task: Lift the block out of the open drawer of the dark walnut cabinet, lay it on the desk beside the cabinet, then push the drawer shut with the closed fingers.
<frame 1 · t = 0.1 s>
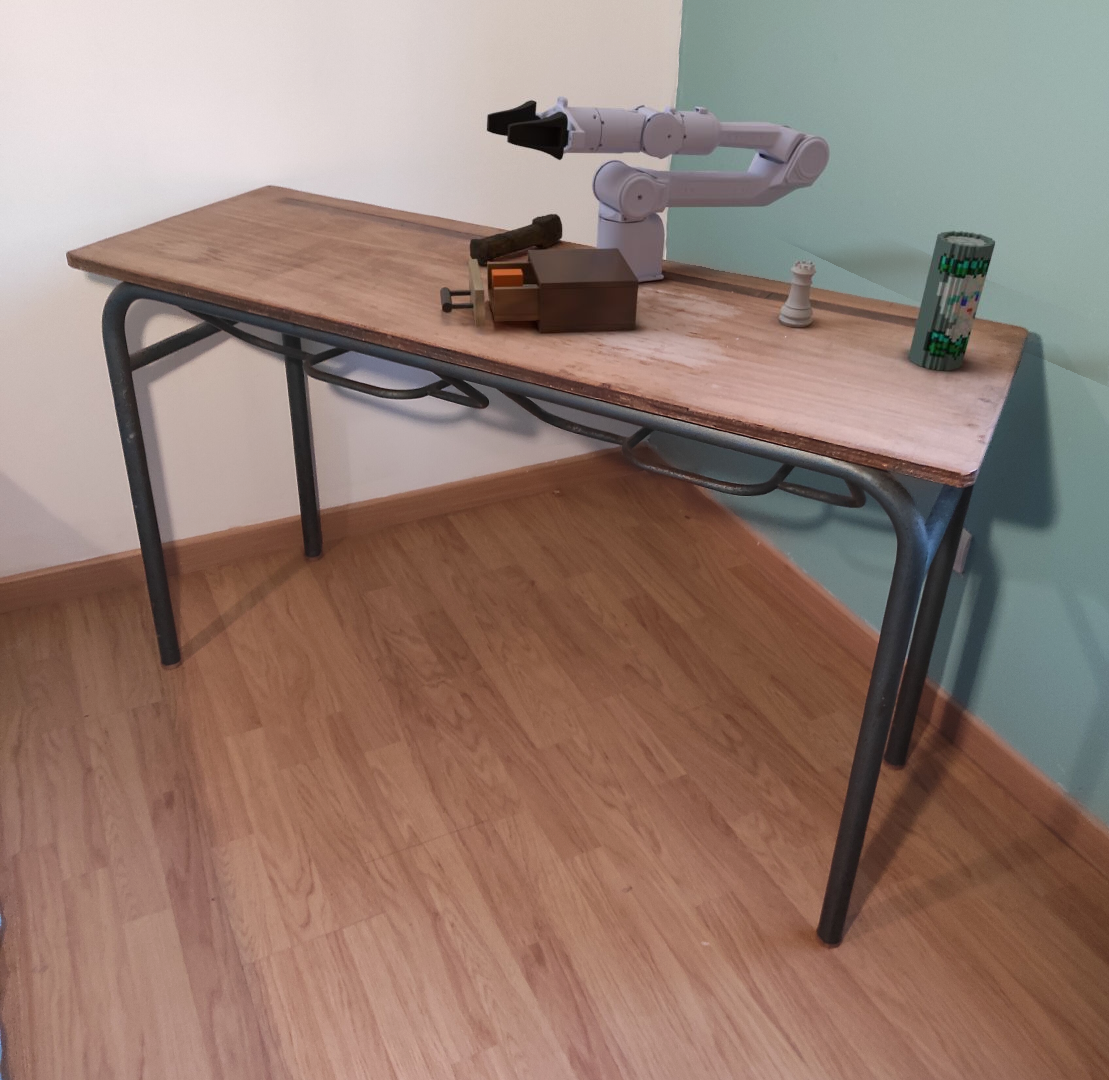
hand: (497, 128, 125), 22 cm above the table, tool horizontal, fingers open, 7 cm apart
rook chess piece: (794, 323, 129), on the table
block: (515, 294, 130), point 2 cm above the table, touching drawer
cabinet: (579, 312, 130), on the table
drawer: (499, 291, 127), point 3 cm above the table, slide at 7.0 cm, touching block
hand tool: (518, 252, 152), on the table
can: (934, 361, 119), on the table
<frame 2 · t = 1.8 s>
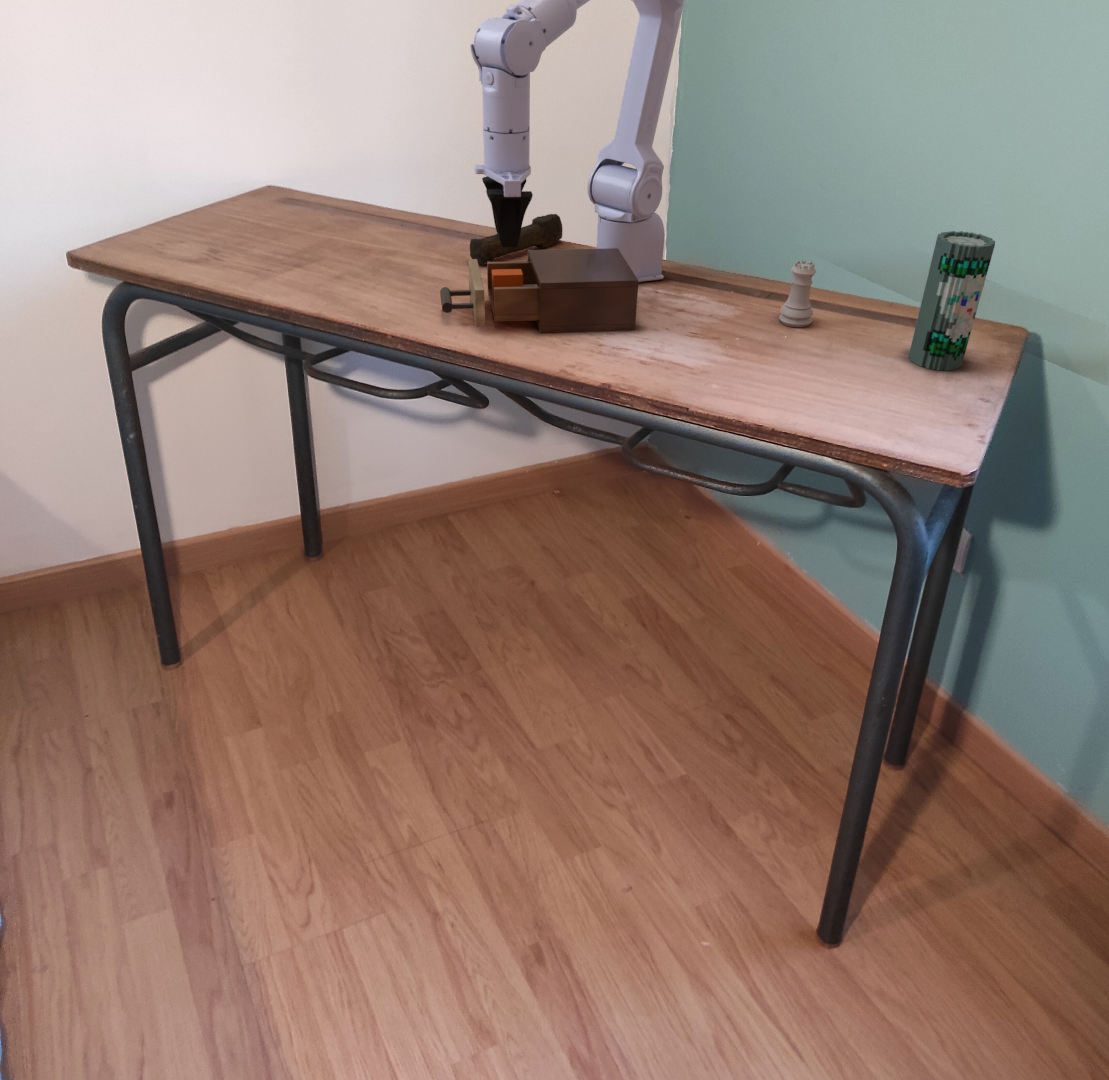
hand: (507, 240, 126), 9 cm above the table, tool pointing down, fingers open, 5 cm apart
nothing on the table moved.
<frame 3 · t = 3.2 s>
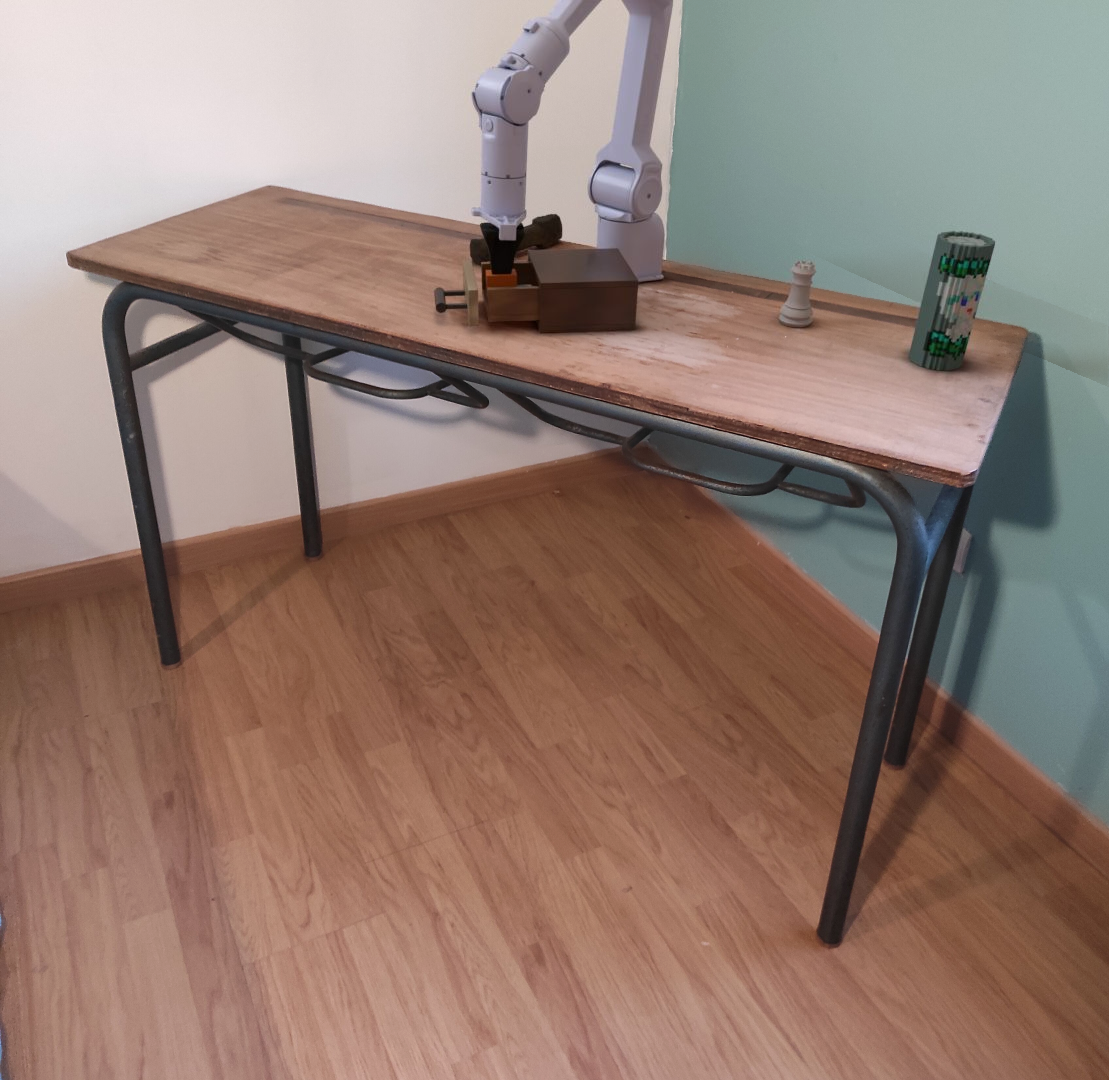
hand: (500, 280, 128), 4 cm above the table, tool pointing down, fingers closed, pressing on block
block: (509, 295, 130), point 2 cm above the table, touching drawer, gripper
drawer: (493, 291, 127), point 3 cm above the table, slide at 7.8 cm, touching block
everything else where it was.
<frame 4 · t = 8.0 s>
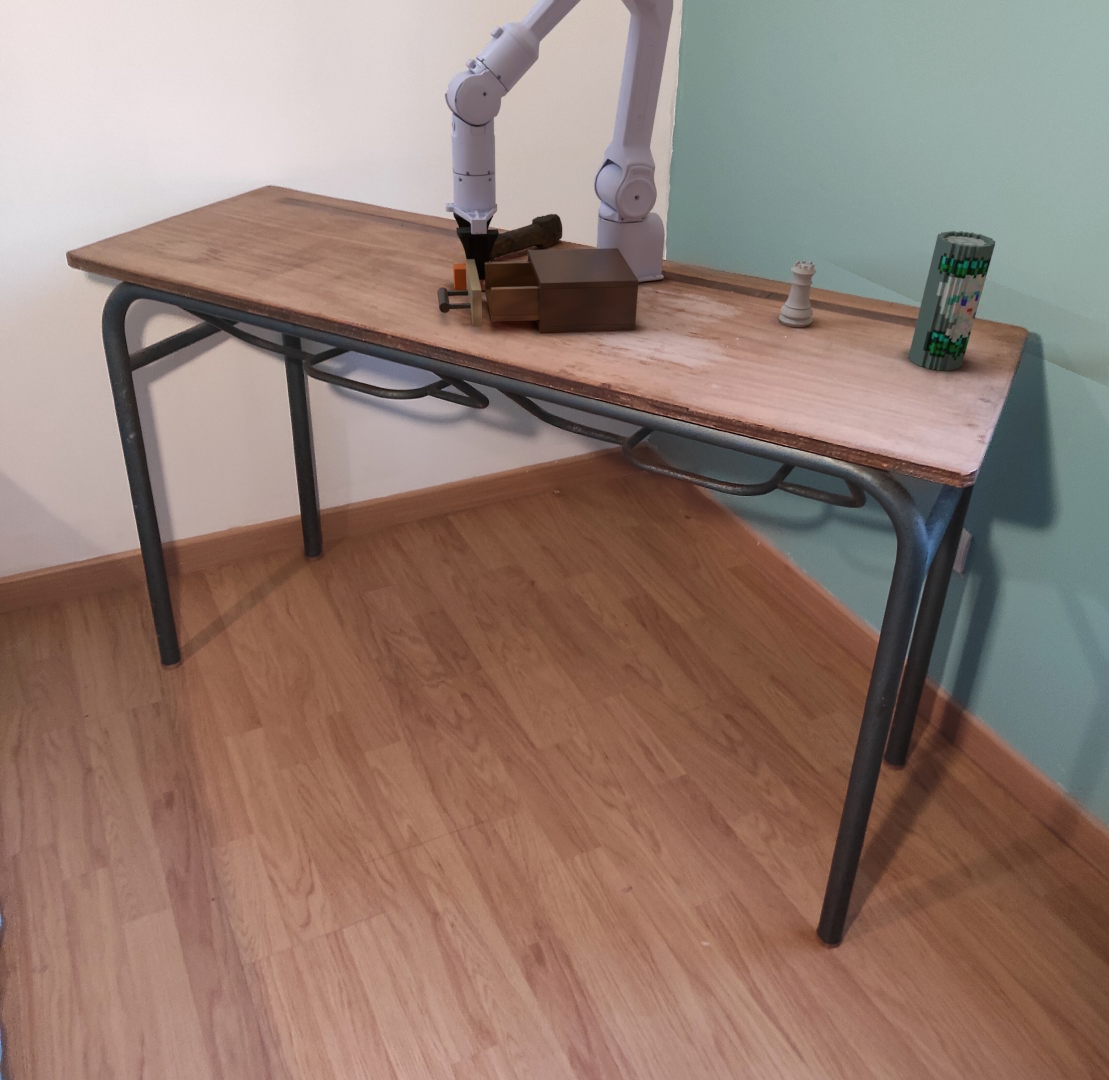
hand: (476, 270, 136), 2 cm above the table, tool pointing down, fingers open, 6 cm apart
block: (476, 287, 138), on the table
drawer: (497, 291, 127), point 3 cm above the table, slide at 7.4 cm, touching gripper
everything else where it was.
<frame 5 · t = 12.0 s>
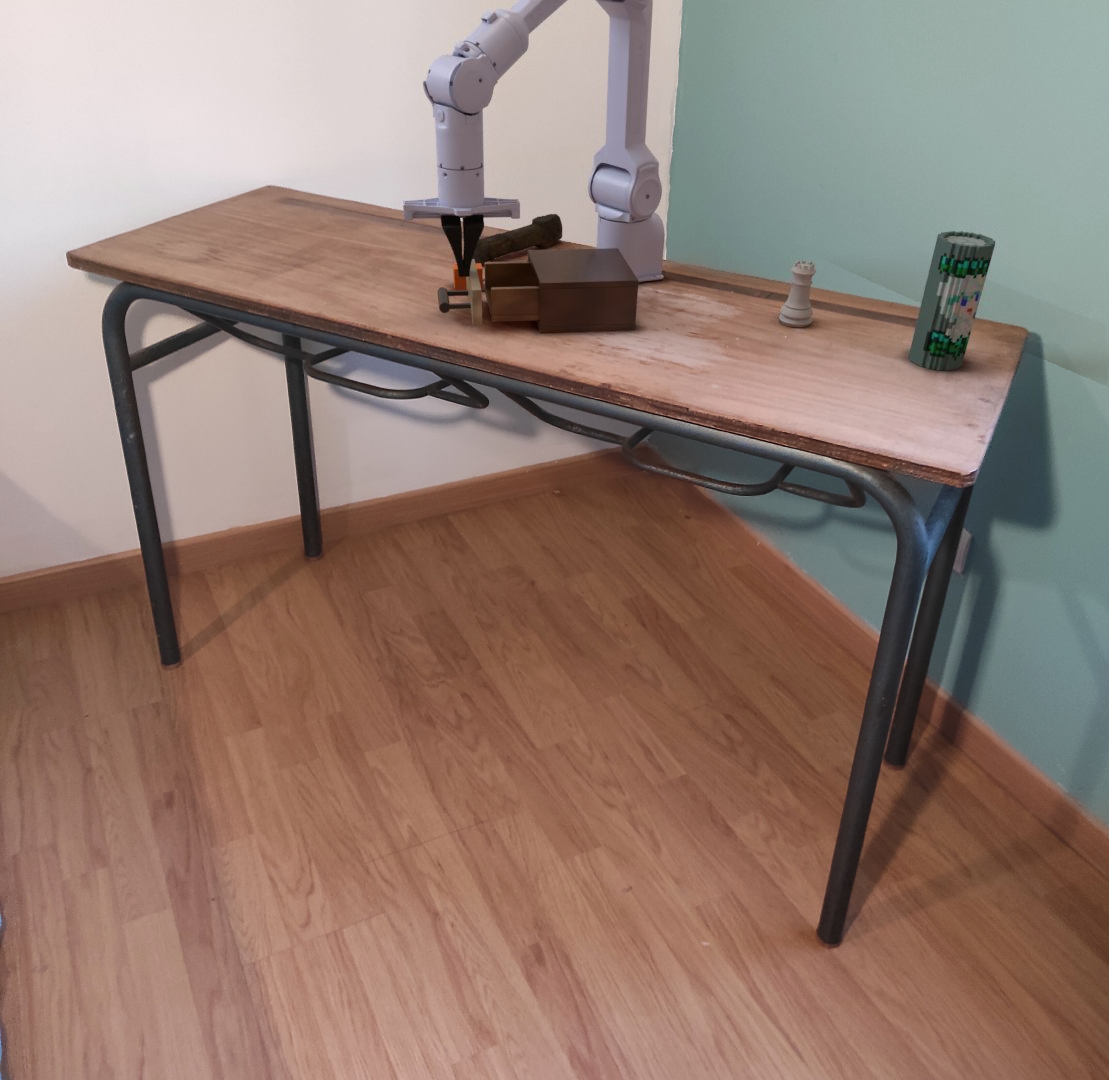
hand: (463, 274, 125), 6 cm above the table, tool pointing down, fingers closed
nothing on the table moved.
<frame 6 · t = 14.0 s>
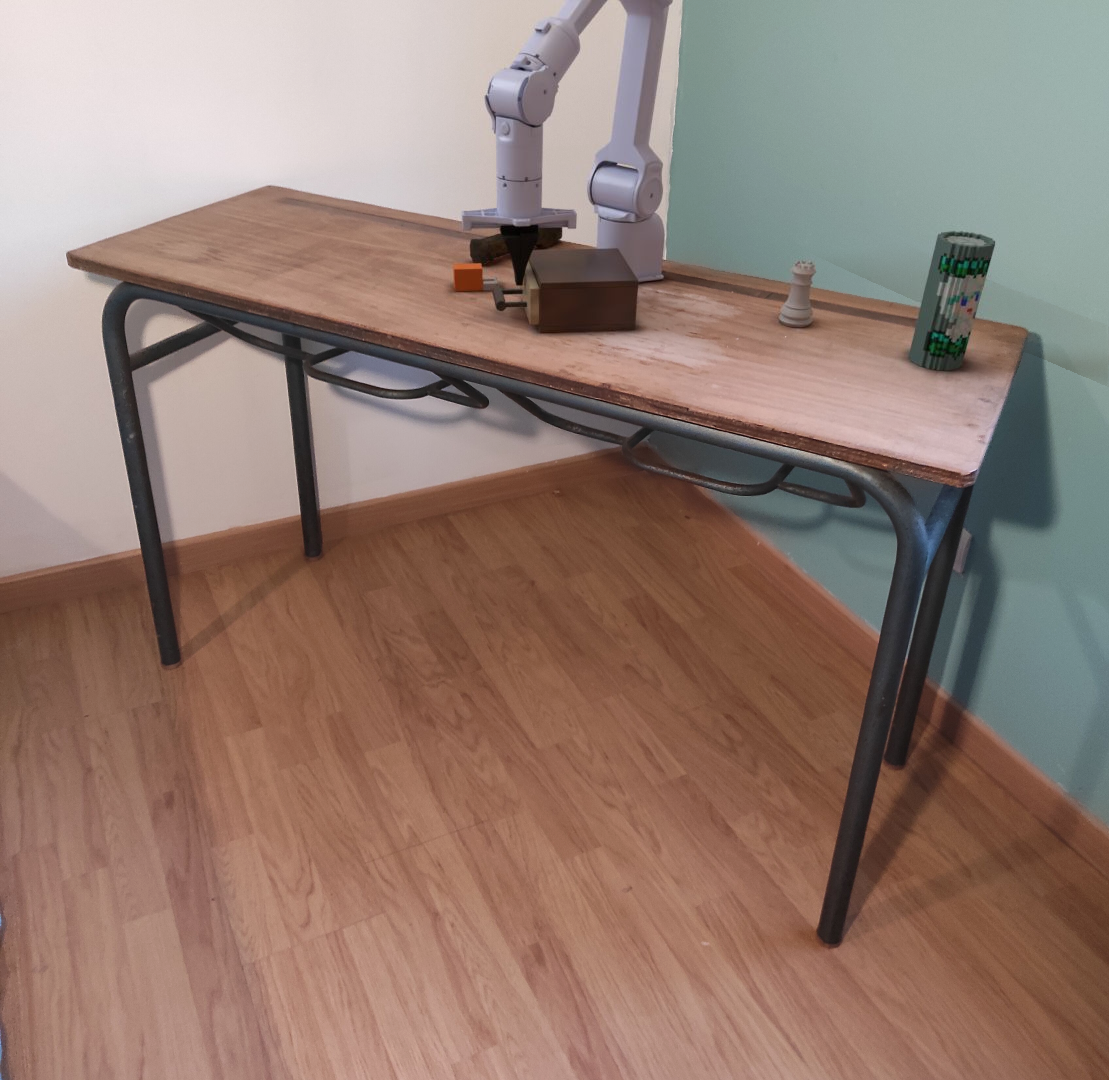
hand: (519, 283, 127), 4 cm above the table, tool pointing down, fingers closed, pressing on drawer
drawer: (552, 289, 128), point 3 cm above the table, slide at 0.0 cm, touching cabinet, gripper
everything else where it was.
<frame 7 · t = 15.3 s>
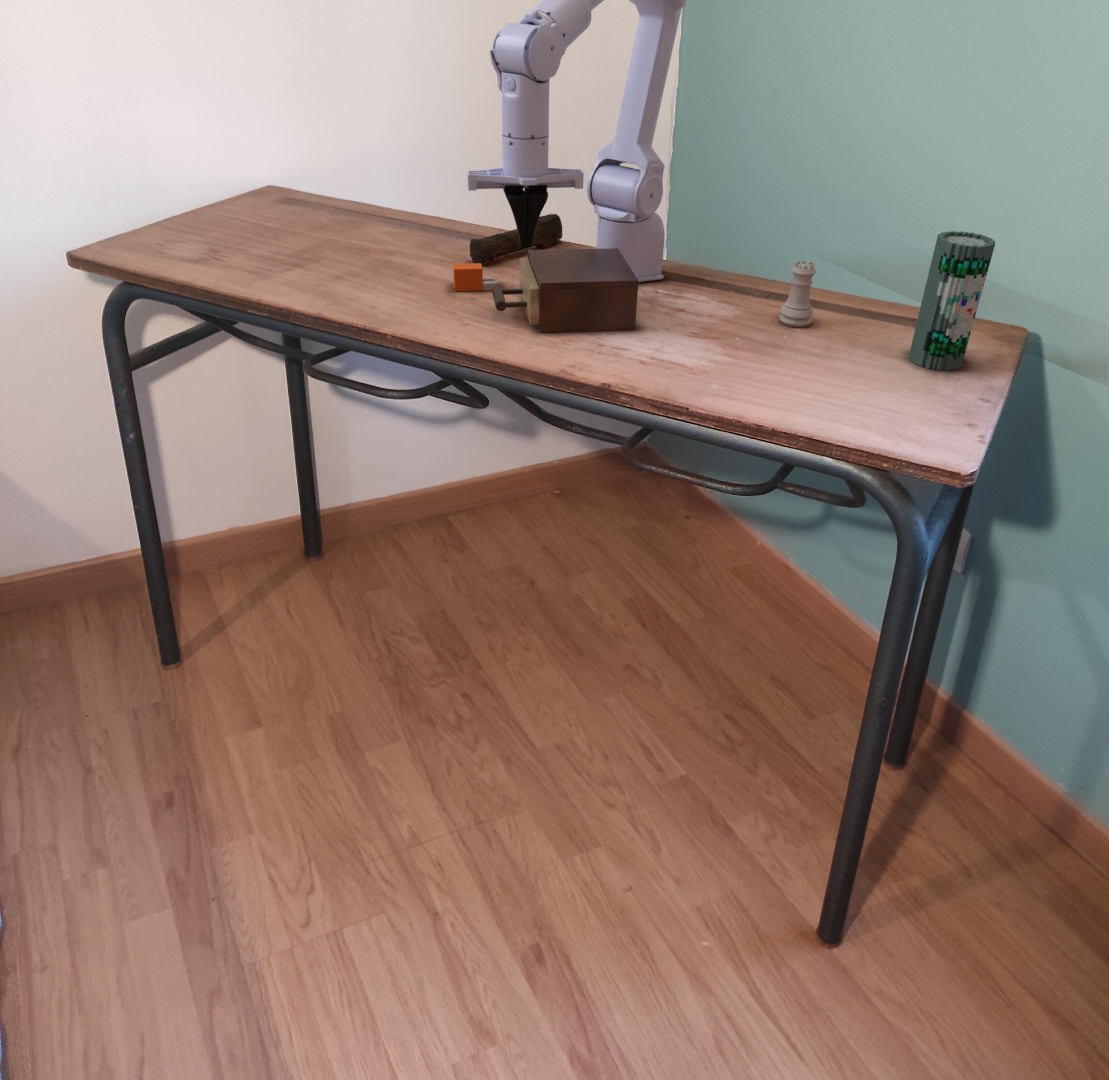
hand: (525, 245, 125), 9 cm above the table, tool pointing down, fingers closed
drawer: (552, 289, 128), point 3 cm above the table, slide at 0.0 cm
everything else where it was.
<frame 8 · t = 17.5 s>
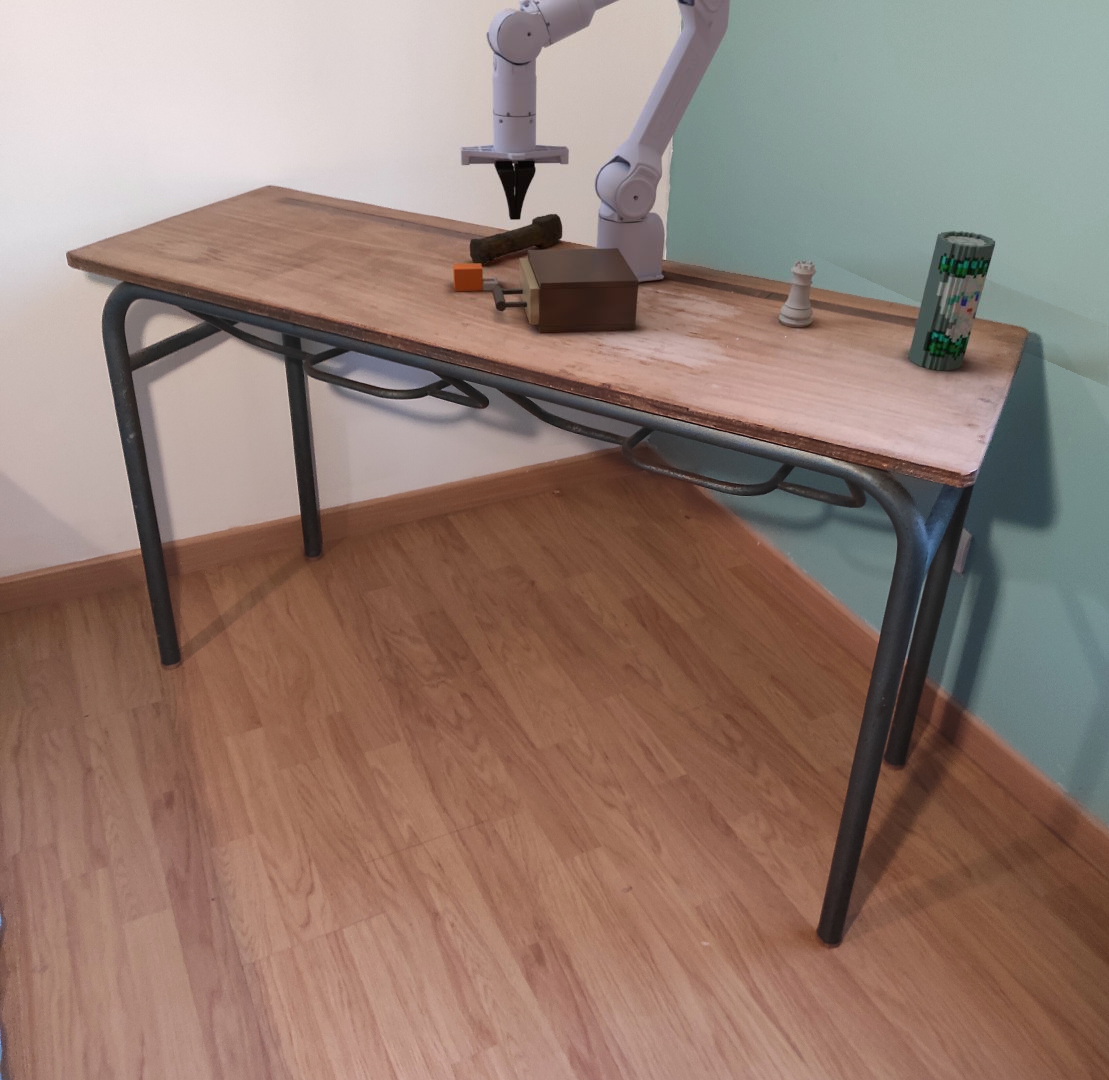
hand: (514, 217, 134), 9 cm above the table, tool pointing down, fingers closed
nothing on the table moved.
at the end: block 1.2 cm from the target spot, on the table; block tilted 0°; drawer slide at 0.0 cm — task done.
